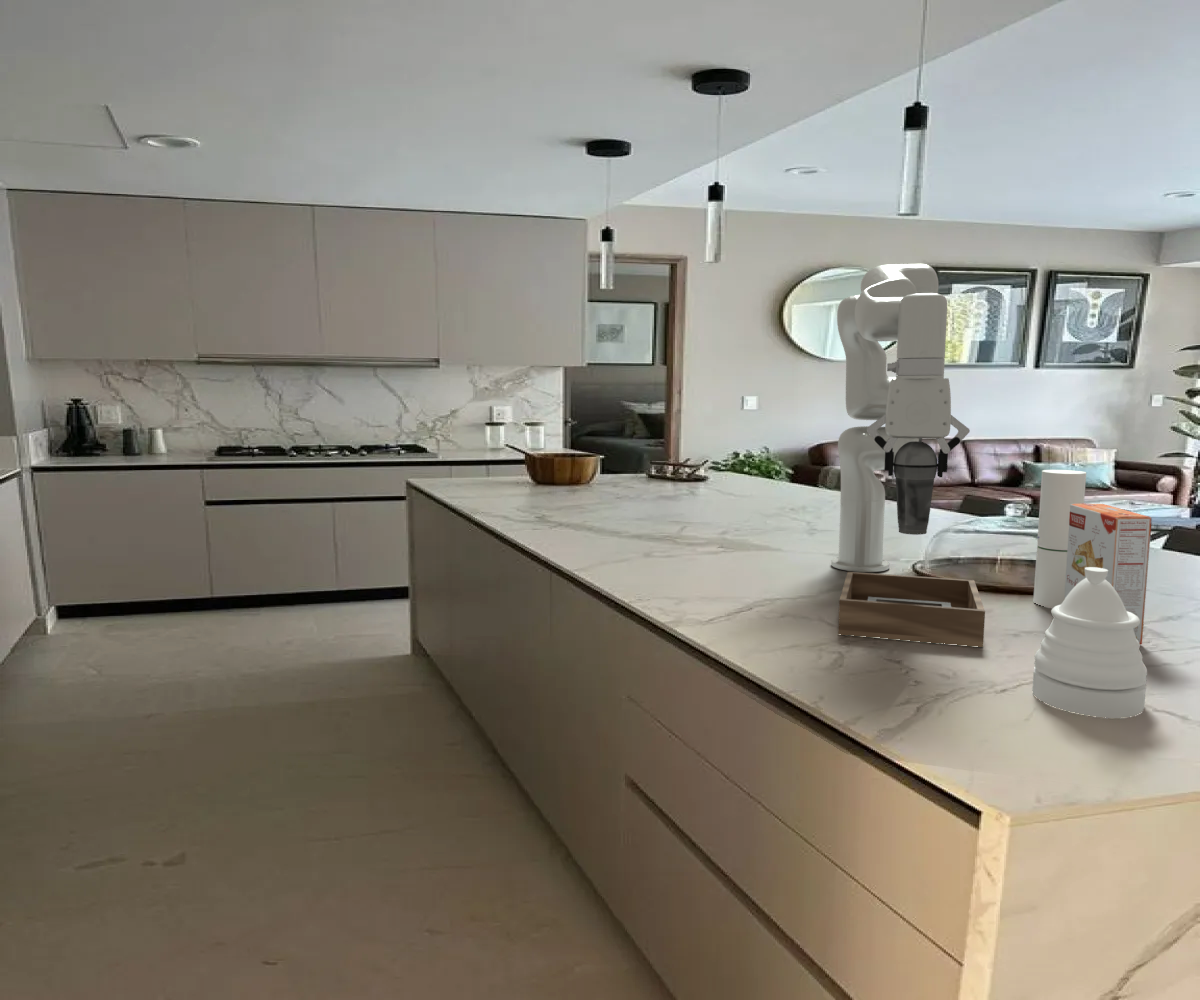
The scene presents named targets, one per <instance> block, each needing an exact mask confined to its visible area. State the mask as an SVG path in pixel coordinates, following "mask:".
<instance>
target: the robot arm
mask: <svg viewBox="0 0 1200 1000" xmlns="http://www.w3.org/2000/svg"><path fill="white" fill-rule="evenodd" d="M938 292H939V278H938V274H937V272H936V271H935V269H934V268H933V267H932V266H930V264H929V265H928V264H925V263H908V264H907V263H904V264H903V263H900V264H897V263H895V264H894V263H893V264H881V265H877V266H874V267H872V268H870V269H869V270H867V272H866V273H865V274H864V275H863V277H862V279H861V282H860V294H855V295H850V296H847V297H844V298H843V299H842V300H841V301H840V302H839V304H838V305H837V306H838V307H837V311H836V316H837V317H836V324H837V332H838V334H839V339H840V341H841V346H842V347H843V351H844V354H845V368H846V369H845V408H846V414H847V415H848V416H849V417H850V418H851V419H854V420H859V421H874V422H873V423H871V424H870V425H869V426H868V425H867V426H864V425H863V426H861V425H860V426H854V427H850V428H846V429H845V430H843V431H842V432H841V434H840V435H839V437H838V441H837V451H838V461H839V468H840V469H839V470H840V500H839V501H840V502H839V503H840V504H839V532H838V534H839V535H838V556H837V557H834V558H832V559H831V560H830V562H831V563H830V565H831V566H832V568H835V569H838V570H841V571H847V572H859V573H877V572H884V571H887V570H890V564H891V563H889V561H887V560H885V559H883V555H884V553H883V552H884V536H885V535H884V533H885V532H884V531H885V506H886V504H885V503H886V490H885V486H884V484H883V483H882V481H881V480H880V479H879V477H877V476H876V475H875V472H874V471H881V470H882V471H887V472H888V477H892V476H894V466H893V463H894V458H895V455H896V453H897V451H898V450H899V449H900V448H901V447H902V446H903V445H904V444H906V443H908V442H919V438H922V439H929V440H930V439H935V440H936V441H937V443H938V445H939V447H940V449H939V452H937V464H938V467H937V472H936V475H937V477H938V478H943V474H944V473H947V472H948V463H949V462H948V459H949V454H950V452H951V451H952V450H953V449H955V448H956V447H957V446H958V445H960V443H961V442H962V441H963V440H964V439H965V438H966V437H967V435H968V434H969V433H970V428H969V427H967V426H966V425H965V424H964V423H963V422H961V421H960V420H959V419H957V418H956V416H953V415H952V404H951V403H952V401H951V400H952V399H951V398H952V397H951V396H952V395H951V394H952V393H951V384H950V380H949V378H948V377H946V378H945V363H946V361H945V358H946V340H947V323H948V322H947V319H948V300H947V298H946V296H945V295H943V294H942V293H941V294H940V293H938ZM880 342H897V343H896V348H897V349H896V361H894V362H891V363H890V362H889V363H887V353H886V351H885V349H884V348H883V347H882V345H881V344H880ZM887 372H891V373H894V374H895V376H888V375H887ZM951 427H953V428H955V429H956V430H957V433H956V434H955V435H954V437H952V438H951V439H950V440H949V441H946V437H948V436H949V434H950V432H951Z"/></svg>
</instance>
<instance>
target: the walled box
mask: <svg viewBox="0 0 1200 1000" xmlns="http://www.w3.org/2000/svg"><path fill="white" fill-rule="evenodd" d="M842 586H843V587H842V590H841V594H840V596H839V600H838V603H839V605H838V627H837V628H838V629H837V630H838V634H841V635H854V636H866V637H880V638H888V639H900V640H910V641H920V642H931V643H943V644H944V643H945V644H957V645H967V646H978V647H983V648H984V636H985V635H984V634H985V619H986V610H985V607H984V605H983V601H982V599H981V596H980V592H979V591H978V587H977V585H976V581H975V580H974V579H965V578H964V579H962V578H949V577H948V578H946V577H931V576H915V575H903V574H901V575H900V574H886V573H875V572H854V571H847V572H846V576H845V579H844V582H843V585H842Z"/></svg>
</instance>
